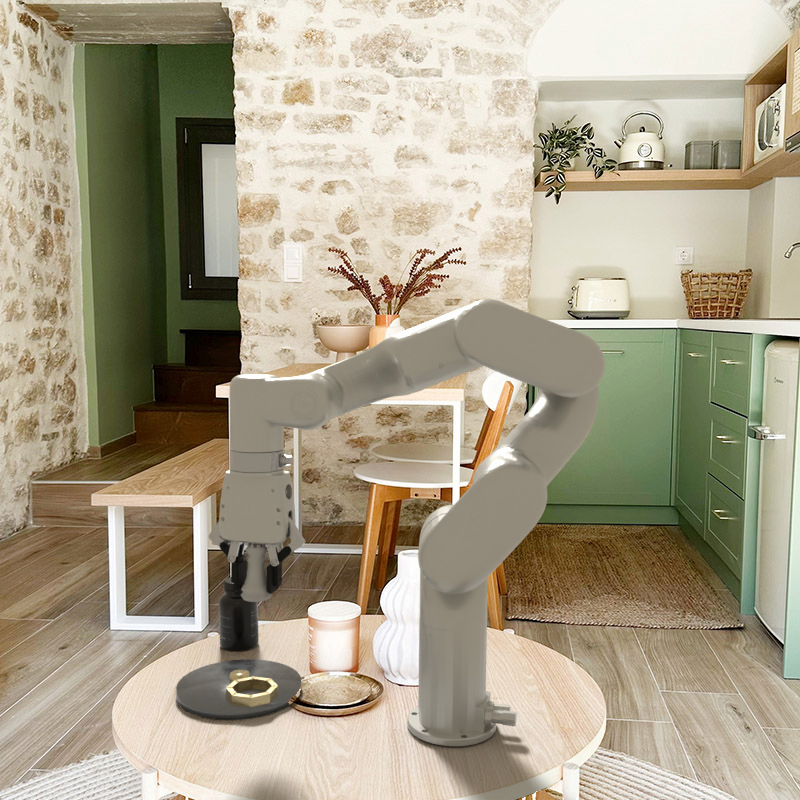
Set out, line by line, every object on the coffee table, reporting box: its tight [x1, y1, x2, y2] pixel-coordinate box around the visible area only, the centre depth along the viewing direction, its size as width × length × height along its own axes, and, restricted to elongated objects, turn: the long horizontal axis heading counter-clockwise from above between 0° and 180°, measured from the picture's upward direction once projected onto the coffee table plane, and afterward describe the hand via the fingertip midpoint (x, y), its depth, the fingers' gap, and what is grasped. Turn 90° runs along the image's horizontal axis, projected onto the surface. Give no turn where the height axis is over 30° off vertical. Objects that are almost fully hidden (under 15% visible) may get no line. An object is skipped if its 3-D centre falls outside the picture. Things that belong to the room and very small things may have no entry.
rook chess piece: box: [241, 543, 273, 603], centre depth 122 cm, size 4×4×8 cm
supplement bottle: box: [218, 576, 259, 653], centre depth 153 cm, size 7×7×12 cm
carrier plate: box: [175, 658, 302, 721], centre depth 134 cm, size 19×19×3 cm
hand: (256, 588), depth 123 cm, fingers closed on rook chess piece, 4 cm apart
